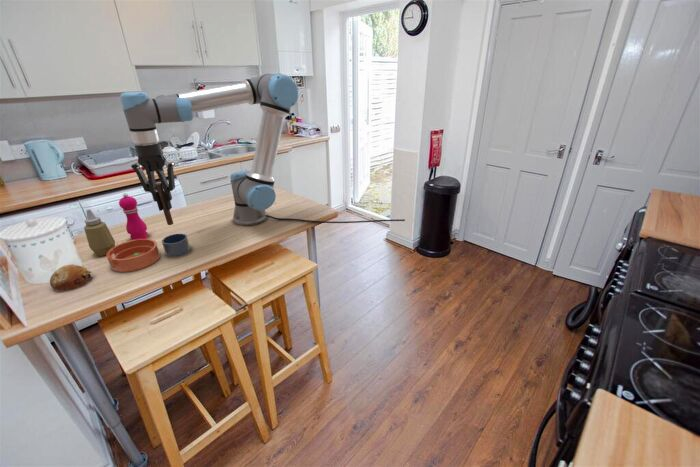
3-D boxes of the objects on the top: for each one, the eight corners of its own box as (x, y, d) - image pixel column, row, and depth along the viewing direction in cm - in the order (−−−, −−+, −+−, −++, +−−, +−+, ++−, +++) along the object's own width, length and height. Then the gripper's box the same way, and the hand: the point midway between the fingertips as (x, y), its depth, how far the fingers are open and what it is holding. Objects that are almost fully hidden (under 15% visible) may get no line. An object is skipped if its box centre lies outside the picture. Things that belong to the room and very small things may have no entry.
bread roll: (77, 282, 112) (59, 266, 108) (101, 271, 110) (82, 253, 107) (57, 300, 103) (35, 283, 99) (82, 288, 102) (61, 270, 98)
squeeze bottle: (99, 259, 119) (80, 216, 110) (89, 254, 123) (70, 211, 114) (122, 250, 125) (106, 208, 117) (112, 245, 129) (95, 204, 120)
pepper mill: (140, 242, 131) (125, 197, 122) (125, 241, 132) (109, 195, 123) (153, 234, 137) (139, 191, 128) (139, 233, 138) (124, 189, 129)
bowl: (166, 249, 126) (163, 237, 123) (150, 271, 112) (146, 258, 109) (124, 252, 124) (119, 240, 121) (102, 275, 110) (97, 261, 107)
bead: (135, 259, 118) (144, 257, 119) (133, 263, 116) (142, 260, 116) (132, 252, 117) (140, 250, 118) (129, 256, 114) (138, 253, 115)
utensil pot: (193, 245, 128) (189, 232, 126) (186, 257, 121) (182, 243, 118) (170, 247, 127) (166, 234, 124) (162, 258, 119) (158, 244, 117)
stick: (174, 222, 120) (162, 182, 112) (172, 225, 118) (159, 184, 110) (169, 222, 120) (156, 182, 112) (166, 225, 118) (153, 184, 110)
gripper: (175, 140, 109) (190, 204, 120) (127, 141, 107) (147, 206, 118) (167, 144, 103) (184, 211, 113) (116, 146, 101) (139, 214, 111)
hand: (165, 208), depth 116 cm, fingers closed on stick, 2 cm apart
